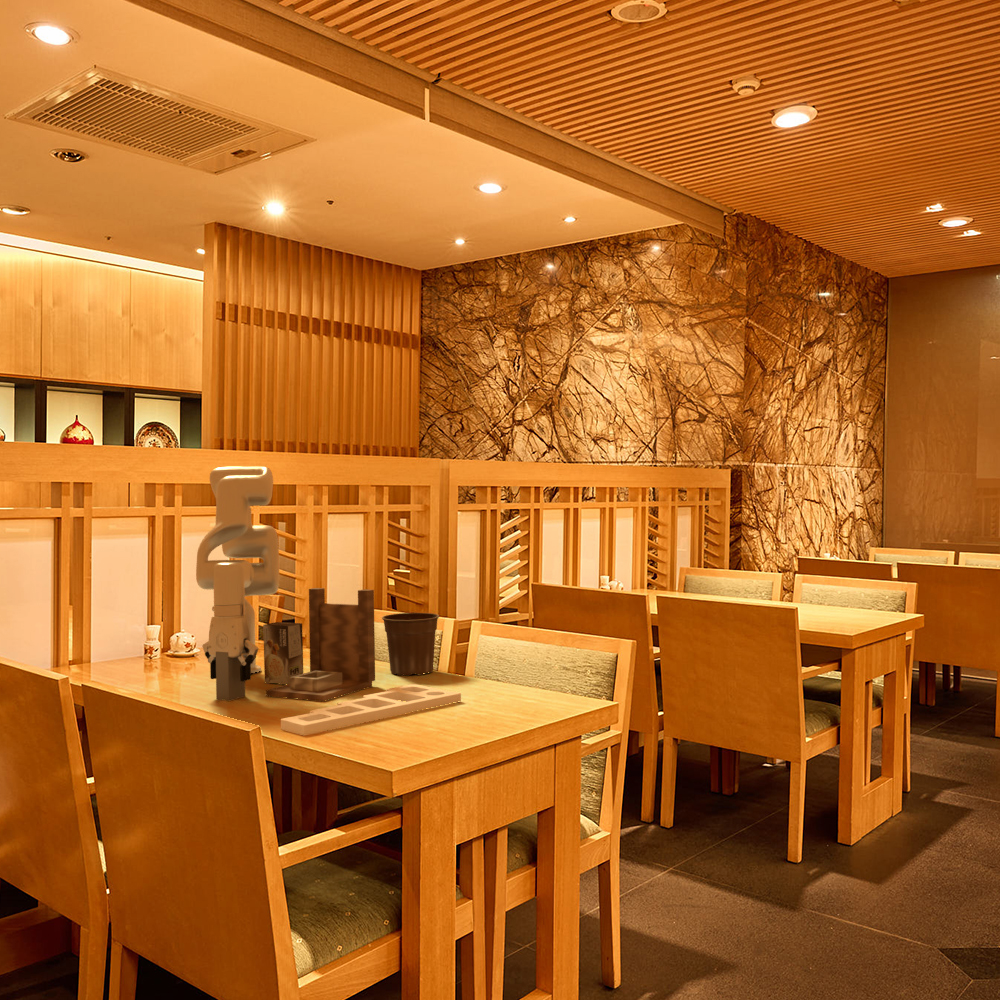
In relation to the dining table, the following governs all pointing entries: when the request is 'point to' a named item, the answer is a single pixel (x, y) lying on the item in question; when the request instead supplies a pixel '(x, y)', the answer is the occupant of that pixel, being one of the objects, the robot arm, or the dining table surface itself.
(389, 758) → the dining table surface
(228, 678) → the plain rectangular block
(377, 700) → the holder
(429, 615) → the plant pot
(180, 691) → the dining table surface
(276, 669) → the coffee box
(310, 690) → the wooden display stand
